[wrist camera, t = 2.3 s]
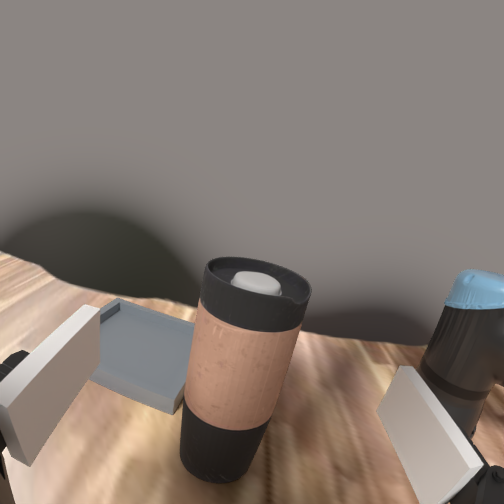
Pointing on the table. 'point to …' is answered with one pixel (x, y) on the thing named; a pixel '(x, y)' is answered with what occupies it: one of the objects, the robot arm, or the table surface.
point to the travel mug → (238, 362)
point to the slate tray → (143, 354)
